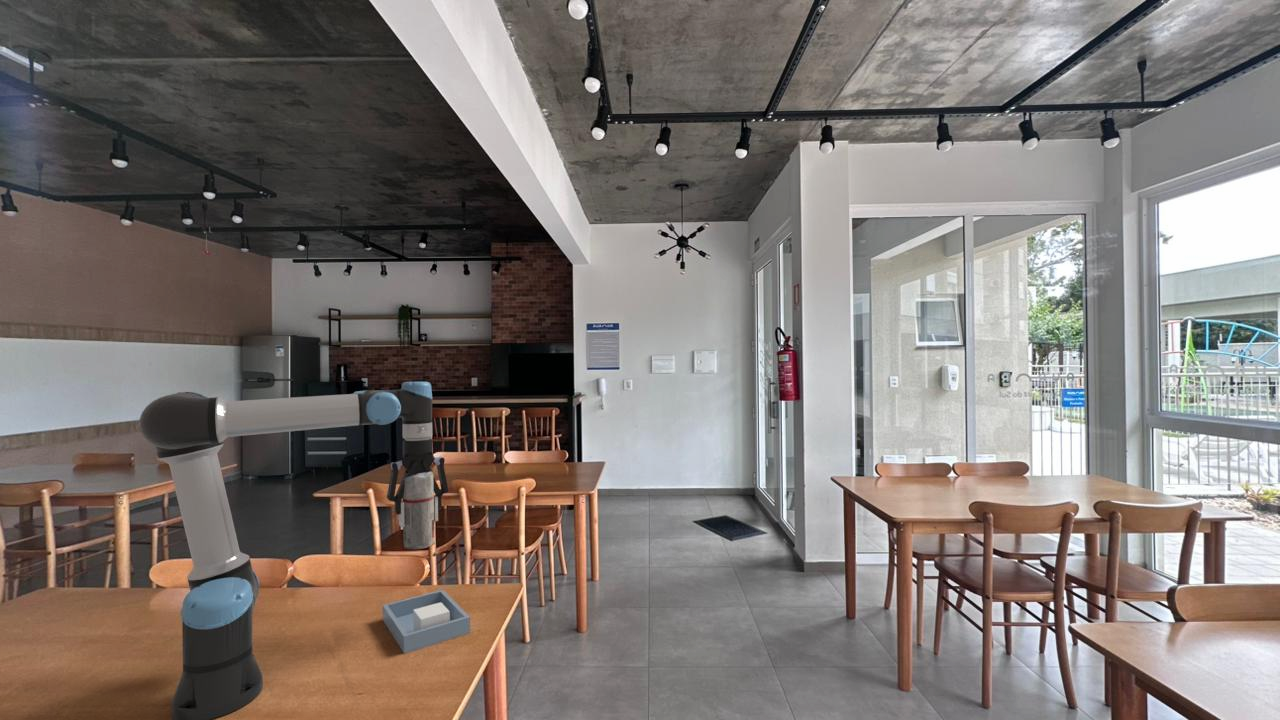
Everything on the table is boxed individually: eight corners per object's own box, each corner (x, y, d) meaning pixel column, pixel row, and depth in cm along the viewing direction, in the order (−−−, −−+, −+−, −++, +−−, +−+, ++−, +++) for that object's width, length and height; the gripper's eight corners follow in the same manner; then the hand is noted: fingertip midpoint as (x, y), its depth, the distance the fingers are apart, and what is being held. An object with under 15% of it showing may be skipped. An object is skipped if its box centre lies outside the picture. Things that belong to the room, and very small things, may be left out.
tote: (404, 657, 131) (404, 636, 131) (382, 623, 148) (382, 605, 148) (470, 636, 140) (470, 617, 140) (442, 607, 158) (442, 589, 158)
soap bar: (421, 644, 135) (421, 619, 135) (413, 633, 141) (413, 609, 141) (450, 635, 139) (449, 611, 139) (441, 625, 145) (441, 602, 145)
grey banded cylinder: (427, 551, 144) (428, 474, 144) (396, 550, 144) (397, 474, 145) (440, 540, 153) (440, 468, 153) (410, 540, 153) (411, 468, 153)
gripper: (379, 443, 139) (380, 533, 139) (460, 436, 152) (461, 518, 152) (372, 440, 145) (373, 527, 145) (451, 433, 158) (452, 513, 158)
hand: (418, 522), depth 148 cm, fingers closed on grey banded cylinder, 8 cm apart
